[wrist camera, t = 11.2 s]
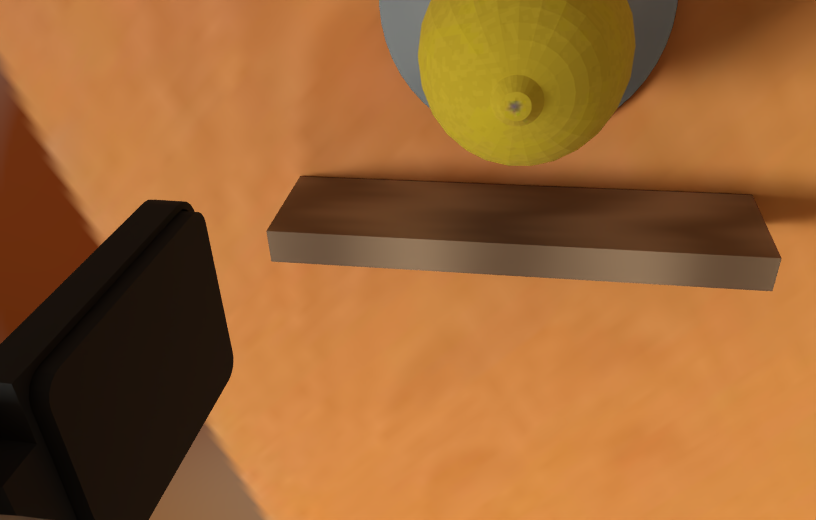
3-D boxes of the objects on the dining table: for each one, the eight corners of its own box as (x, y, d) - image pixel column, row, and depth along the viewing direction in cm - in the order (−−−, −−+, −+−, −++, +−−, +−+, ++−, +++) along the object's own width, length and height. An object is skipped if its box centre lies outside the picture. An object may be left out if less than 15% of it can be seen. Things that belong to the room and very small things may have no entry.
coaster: (700, -170, 20) (704, -169, 20) (653, 140, 25) (655, 146, 25) (373, -160, 22) (370, -158, 21) (389, 131, 26) (386, 137, 26)
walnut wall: (752, 194, 26) (781, 258, 22) (744, 225, 26) (772, 291, 23) (300, 176, 28) (266, 230, 25) (303, 204, 29) (271, 261, 25)
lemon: (581, -130, 21) (586, -78, 14) (651, 48, 23) (685, 165, 16) (409, -33, 23) (345, 51, 16) (489, 121, 25) (461, 249, 19)
